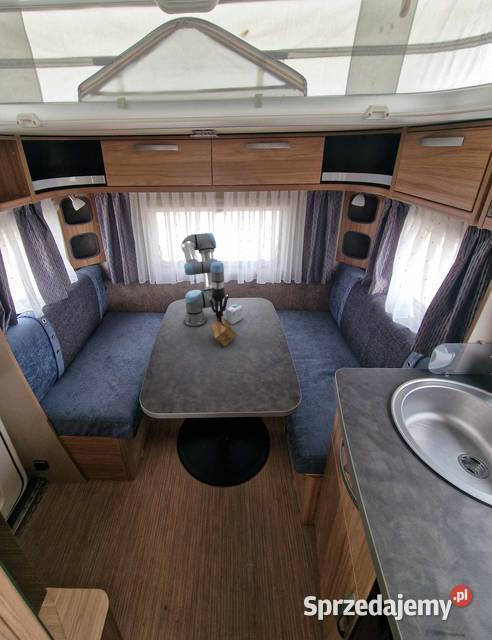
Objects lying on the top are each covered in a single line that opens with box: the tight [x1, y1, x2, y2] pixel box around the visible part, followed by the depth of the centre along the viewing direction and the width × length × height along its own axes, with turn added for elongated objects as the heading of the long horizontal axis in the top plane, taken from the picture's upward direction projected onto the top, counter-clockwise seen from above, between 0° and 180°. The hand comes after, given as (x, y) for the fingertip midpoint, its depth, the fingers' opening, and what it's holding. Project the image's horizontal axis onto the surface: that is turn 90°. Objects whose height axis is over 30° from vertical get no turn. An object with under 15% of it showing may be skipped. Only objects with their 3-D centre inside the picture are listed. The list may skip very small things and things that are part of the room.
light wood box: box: [209, 313, 239, 348], centre depth 181 cm, size 11×13×17 cm
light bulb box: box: [225, 303, 243, 325], centre depth 206 cm, size 11×7×11 cm, turn 134°
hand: (219, 320), depth 179 cm, fingers closed
